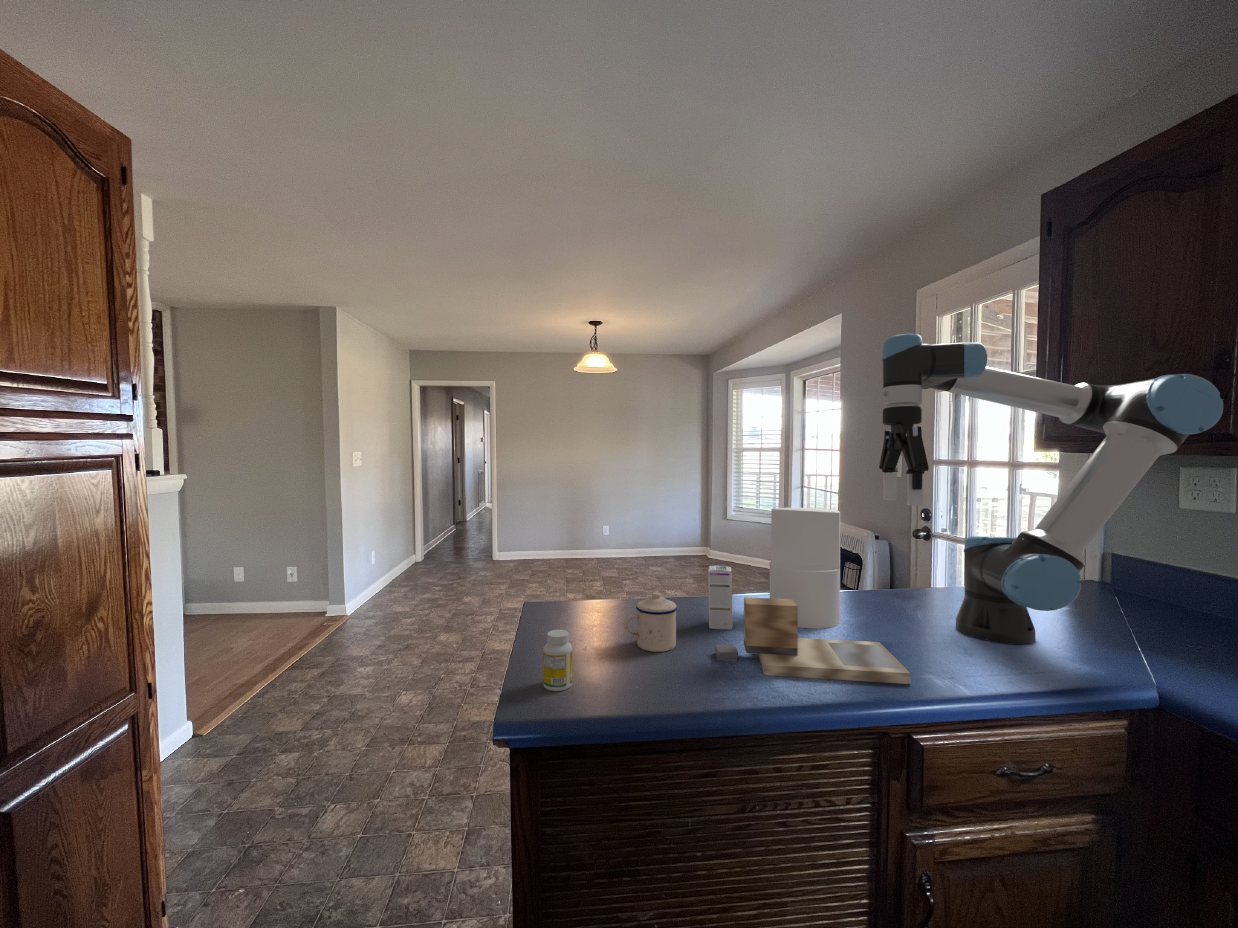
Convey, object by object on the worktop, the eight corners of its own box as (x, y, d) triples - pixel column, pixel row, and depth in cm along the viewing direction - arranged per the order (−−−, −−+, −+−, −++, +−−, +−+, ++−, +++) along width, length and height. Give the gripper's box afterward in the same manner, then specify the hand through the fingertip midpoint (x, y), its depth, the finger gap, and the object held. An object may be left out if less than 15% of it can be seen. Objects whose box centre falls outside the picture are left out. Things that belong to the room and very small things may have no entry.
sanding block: (792, 646, 105) (792, 599, 105) (797, 655, 100) (797, 605, 100) (744, 643, 107) (744, 597, 107) (746, 652, 102) (746, 603, 102)
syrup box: (732, 630, 121) (732, 570, 121) (707, 628, 123) (707, 569, 122) (732, 622, 127) (732, 565, 127) (708, 621, 128) (708, 564, 128)
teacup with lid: (668, 636, 117) (668, 586, 117) (683, 650, 109) (683, 596, 109) (618, 641, 114) (618, 590, 114) (630, 656, 105) (630, 601, 105)
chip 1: (733, 650, 107) (733, 644, 107) (738, 657, 103) (738, 652, 103) (715, 650, 107) (715, 644, 107) (719, 658, 103) (718, 652, 103)
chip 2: (716, 650, 107) (716, 655, 107) (717, 657, 103) (717, 663, 103) (735, 651, 107) (735, 656, 107) (737, 658, 103) (737, 664, 103)
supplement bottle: (557, 694, 88) (556, 640, 88) (537, 685, 92) (536, 633, 92) (578, 684, 92) (578, 632, 92) (558, 676, 96) (558, 626, 96)
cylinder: (781, 604, 143) (781, 506, 143) (846, 615, 133) (846, 509, 133) (760, 619, 129) (760, 511, 129) (830, 633, 119) (831, 515, 119)
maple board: (879, 651, 108) (879, 641, 108) (910, 683, 92) (910, 672, 92) (754, 644, 112) (754, 635, 112) (764, 674, 96) (764, 664, 96)
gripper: (864, 412, 123) (864, 498, 124) (907, 400, 99) (906, 507, 99) (897, 411, 122) (897, 498, 122) (948, 399, 98) (948, 508, 98)
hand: (901, 502), depth 111 cm, fingers open, 13 cm apart
